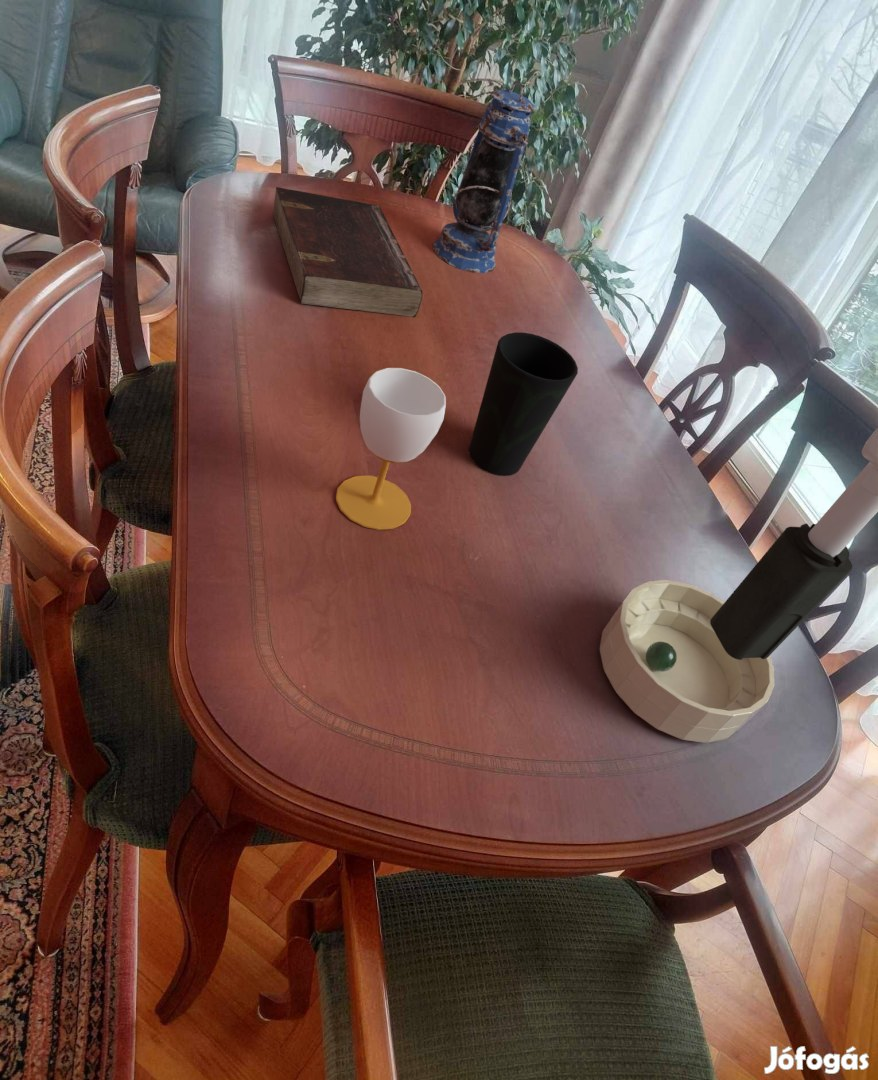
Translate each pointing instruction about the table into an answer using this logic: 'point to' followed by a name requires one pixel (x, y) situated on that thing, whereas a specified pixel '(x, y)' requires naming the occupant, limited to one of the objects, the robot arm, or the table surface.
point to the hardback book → (344, 254)
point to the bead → (661, 656)
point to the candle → (793, 577)
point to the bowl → (681, 664)
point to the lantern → (487, 183)
